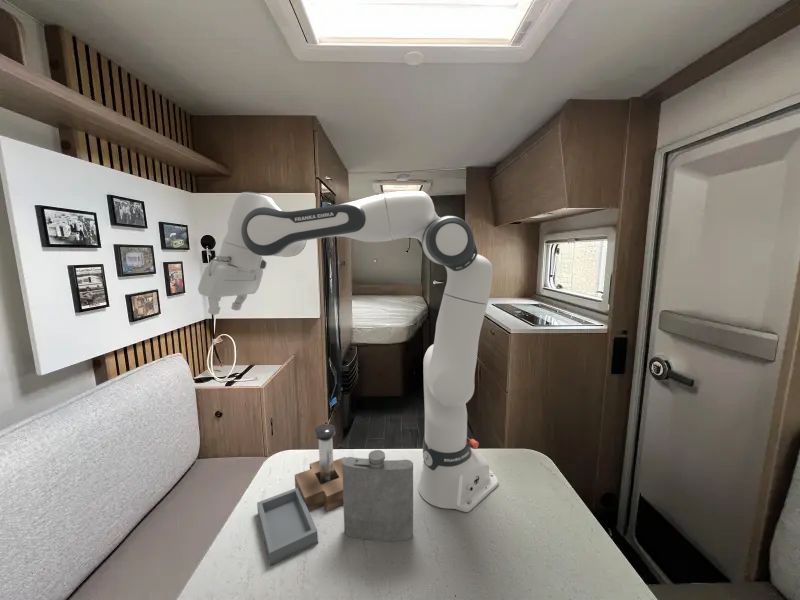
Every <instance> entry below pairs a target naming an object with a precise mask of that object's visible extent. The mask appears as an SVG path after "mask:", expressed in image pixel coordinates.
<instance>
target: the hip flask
mask: <svg viewBox="0 0 800 600" xmlns="http://www.w3.org/2000/svg"><path fill="white" fill-rule="evenodd" d="M385 459H386V454H385V452H384V451H383V450H380V449H374V450H372V451H370V452H369V453H368V458H359V457H353V456H348V457H346V458H345V459H343V461H342V474H343V503H344V504H343V524H344V525H343V526H344V529H343V530H344V534H345V536H347V537H352V538H356V539H361V540H367V541H378V542H400V541H401V542H402V541H409V540H411V539H412V538H413V536H414V462H413V461H412V460H410V459H396V460H395V459H394V460H388V459H387V460H385Z"/></svg>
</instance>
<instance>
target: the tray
mask: <svg viewBox="0 0 800 600" xmlns="http://www.w3.org/2000/svg"><path fill="white" fill-rule="evenodd" d="M256 506H257V517H258V519H259V523H260V528H261V532H262V537H263V541H264V545H265V549H266V554H267V557H268V558H267V559H268V562H269V563H268V564H269V566H270V567H271V566H272V565H275V564H277V563H279V562H281V561H283V560H285V559H288V558H290V557H292V556H294V555H296V554H298V553H301V552H302V551H304V550H306V549H309V548H310V547H312V546H314V545H317V544H318V543H319V539H318V538H319V535H318V529H317V527H316V525H315V522H314V521H313V520H314V519H313V518H312V515H311V513H310V511H308V508H307V506H306V504H305V501H304V499H303V497H302V495H301V492H300V490H299V488H298V487H297V488H295V487H294V488H292V489H290V490H287V491H284V492H282V493H279V494H277V495H274V496H271V497H268V498H266V499H263V500H260V501H258V502H256Z"/></svg>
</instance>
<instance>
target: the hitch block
mask: <svg viewBox="0 0 800 600" xmlns="http://www.w3.org/2000/svg"><path fill="white" fill-rule="evenodd" d="M345 458H347V457H346V456H344V457H343V456H342V457H341V458H339V459H336V460H335V459H334V460H333V466H334V480H332V481H329V482H327V483H324V484H322V485H321V482H320V460H316V461H314V462H311V463H309V469H306V470H304V471H302V472H299V473H296V474H294V485H295V487H294V489H295V488H297V487H298V488H299V490H300V492H301V495H302V497H303V499H304V501H305V504H306V506H307V508H308V511H309V512H311V511H313V510H315V509H317V508H320V507H322V506H324V507H325V508H326V511H327V512H329V511H331V510H333V509H335V508H337V507H341V506H342V505H344V503H343V474H342V461H343V459H345Z"/></svg>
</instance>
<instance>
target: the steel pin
mask: <svg viewBox="0 0 800 600" xmlns="http://www.w3.org/2000/svg"><path fill="white" fill-rule="evenodd" d="M314 436H315V438H316V439H317V440H318V454H319V455H318V459H319V460H320V482H321V485H322V484H324V483H327V482H329V481H332V480H334V466H333V461H334V446H333V445H334V444H333V438H334V437H335V436H336V427H335V425H333V424H331V423H330V424H329V423H324V424H320V425H318V426H317V427H315V429H314ZM319 460H318V461H319Z"/></svg>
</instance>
